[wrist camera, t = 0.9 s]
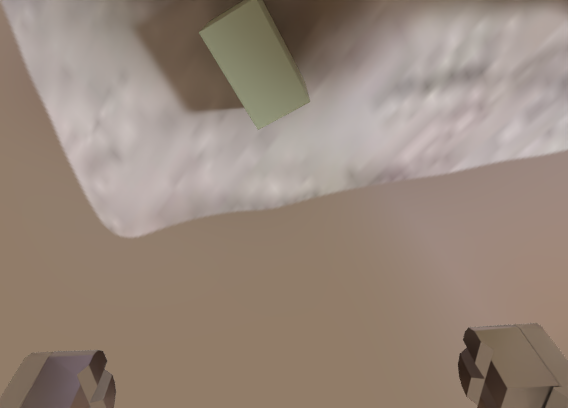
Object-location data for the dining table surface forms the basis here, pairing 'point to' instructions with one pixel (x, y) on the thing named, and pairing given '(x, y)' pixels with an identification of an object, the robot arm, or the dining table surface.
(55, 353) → the robot arm
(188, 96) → the dining table surface
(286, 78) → the sage block
